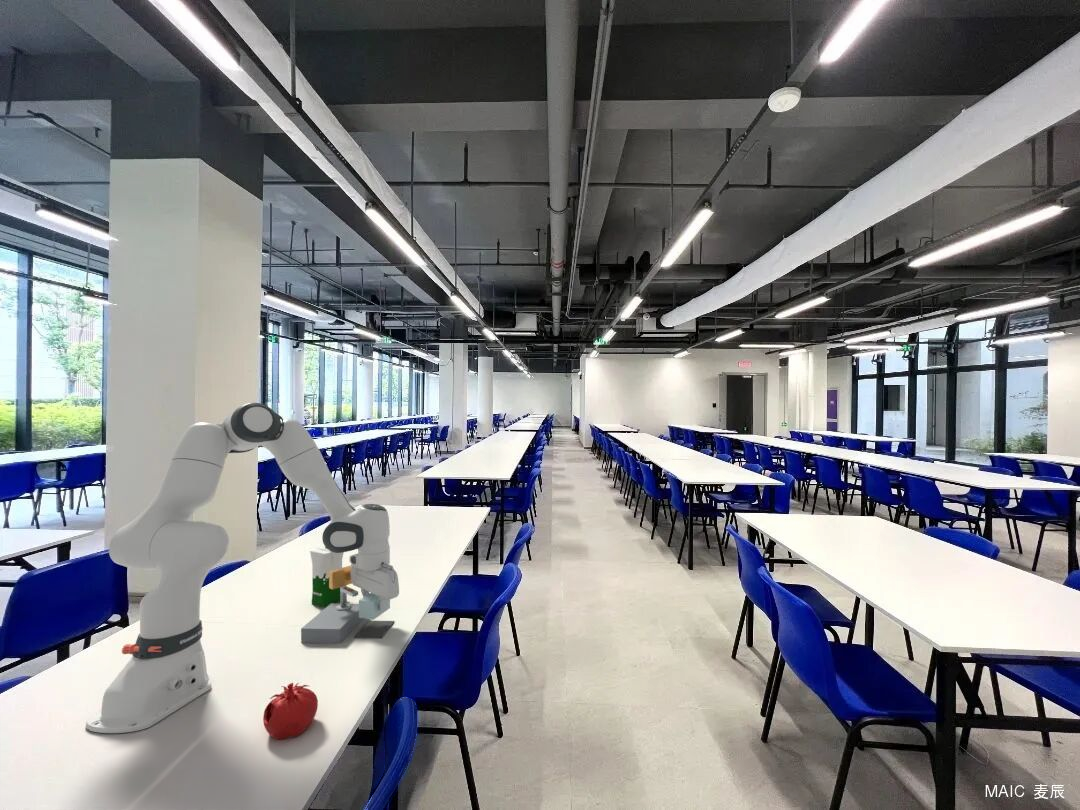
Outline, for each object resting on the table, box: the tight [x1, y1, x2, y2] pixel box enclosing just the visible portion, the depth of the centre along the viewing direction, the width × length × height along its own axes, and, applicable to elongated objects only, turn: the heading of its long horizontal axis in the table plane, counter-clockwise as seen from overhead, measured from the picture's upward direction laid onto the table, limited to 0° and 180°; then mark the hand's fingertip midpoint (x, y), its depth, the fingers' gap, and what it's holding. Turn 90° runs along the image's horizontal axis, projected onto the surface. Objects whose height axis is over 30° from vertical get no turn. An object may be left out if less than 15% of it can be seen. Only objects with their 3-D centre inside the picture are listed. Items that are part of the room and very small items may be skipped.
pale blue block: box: [358, 592, 391, 621], centre depth 141 cm, size 8×5×5 cm, turn 164°
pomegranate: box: [262, 682, 319, 740], centre depth 98 cm, size 10×10×9 cm
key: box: [329, 564, 359, 608], centre depth 145 cm, size 8×8×12 cm
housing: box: [300, 602, 365, 644], centre depth 141 cm, size 17×11×4 cm, turn 177°
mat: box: [353, 620, 395, 639], centre depth 140 cm, size 10×8×1 cm
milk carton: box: [309, 545, 345, 609], centre depth 161 cm, size 9×9×20 cm
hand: (374, 606), depth 141 cm, fingers closed on pale blue block, 6 cm apart
